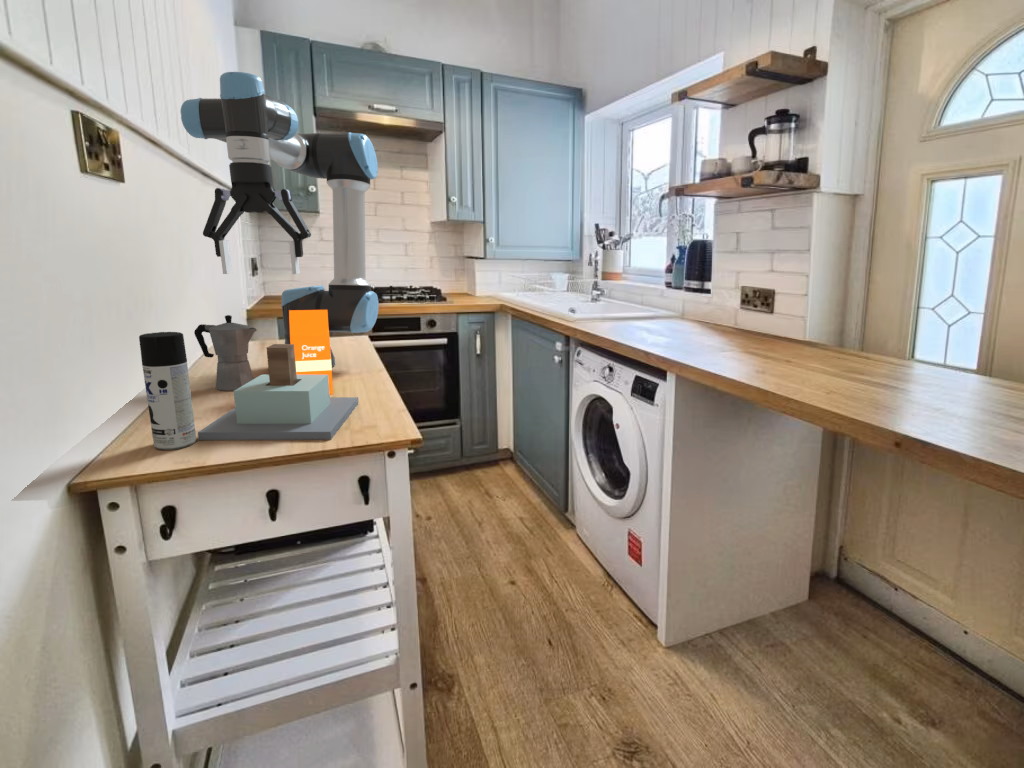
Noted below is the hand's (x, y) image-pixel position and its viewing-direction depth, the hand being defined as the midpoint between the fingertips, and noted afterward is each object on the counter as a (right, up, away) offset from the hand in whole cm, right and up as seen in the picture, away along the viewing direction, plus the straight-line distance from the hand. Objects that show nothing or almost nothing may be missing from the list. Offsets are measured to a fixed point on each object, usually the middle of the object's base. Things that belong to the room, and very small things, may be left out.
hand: (262, 273), depth 115 cm
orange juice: (+3, -25, +23) cm, 34 cm away
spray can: (-9, -34, -14) cm, 37 cm away
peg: (+5, -29, 0) cm, 29 cm away
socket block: (+5, -30, +1) cm, 30 cm away
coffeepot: (-20, -23, +27) cm, 40 cm away
